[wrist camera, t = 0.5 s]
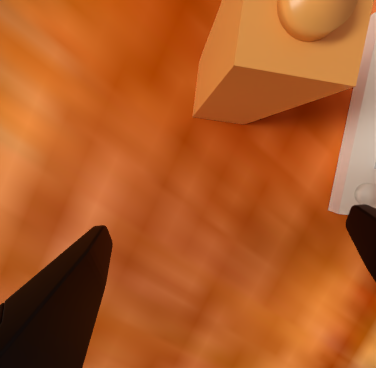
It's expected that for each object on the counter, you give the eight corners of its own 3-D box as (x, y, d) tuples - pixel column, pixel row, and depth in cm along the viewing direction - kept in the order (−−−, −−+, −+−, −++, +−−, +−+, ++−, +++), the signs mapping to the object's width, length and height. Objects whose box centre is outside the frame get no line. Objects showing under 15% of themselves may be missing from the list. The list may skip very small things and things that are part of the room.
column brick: (244, 124, 21) (374, 80, 8) (192, 117, 20) (241, 56, 7) (252, 69, 20) (408, -77, 7) (199, 60, 20) (266, -116, 7)
